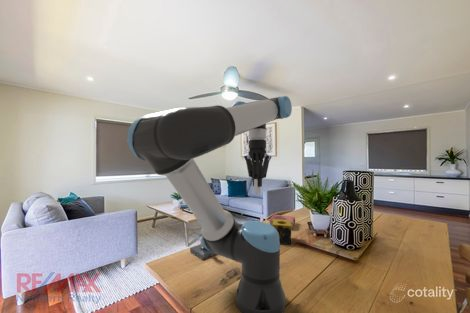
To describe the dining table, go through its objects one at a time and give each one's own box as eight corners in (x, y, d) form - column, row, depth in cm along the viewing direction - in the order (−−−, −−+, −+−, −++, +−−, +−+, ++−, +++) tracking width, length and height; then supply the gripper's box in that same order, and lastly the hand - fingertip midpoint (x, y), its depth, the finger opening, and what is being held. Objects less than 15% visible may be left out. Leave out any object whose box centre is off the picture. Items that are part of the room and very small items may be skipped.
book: (295, 223, 139) (295, 216, 139) (291, 231, 125) (291, 223, 125) (274, 221, 145) (274, 214, 145) (268, 228, 131) (268, 220, 131)
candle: (272, 236, 117) (272, 218, 117) (290, 237, 115) (290, 219, 115) (271, 243, 107) (271, 224, 107) (291, 245, 105) (291, 225, 105)
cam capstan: (220, 253, 91) (220, 242, 91) (209, 256, 88) (209, 245, 88) (207, 241, 104) (207, 232, 104) (197, 243, 101) (197, 234, 101)
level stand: (202, 259, 90) (202, 239, 90) (190, 252, 97) (190, 233, 97) (240, 243, 106) (240, 226, 106) (228, 238, 113) (228, 222, 113)
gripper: (274, 139, 87) (275, 194, 87) (250, 141, 96) (250, 191, 96) (265, 138, 82) (265, 197, 81) (240, 139, 90) (240, 193, 90)
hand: (257, 194), depth 89 cm, fingers closed
